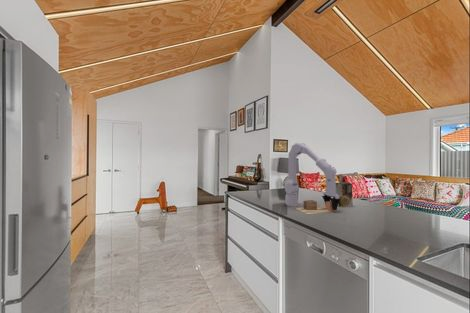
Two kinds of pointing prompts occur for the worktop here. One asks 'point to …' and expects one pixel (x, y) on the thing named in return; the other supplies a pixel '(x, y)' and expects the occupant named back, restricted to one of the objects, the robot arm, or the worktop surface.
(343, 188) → the coffee box
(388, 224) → the worktop surface
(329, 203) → the block
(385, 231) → the worktop surface
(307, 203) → the slab high
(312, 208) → the slab low
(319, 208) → the board
